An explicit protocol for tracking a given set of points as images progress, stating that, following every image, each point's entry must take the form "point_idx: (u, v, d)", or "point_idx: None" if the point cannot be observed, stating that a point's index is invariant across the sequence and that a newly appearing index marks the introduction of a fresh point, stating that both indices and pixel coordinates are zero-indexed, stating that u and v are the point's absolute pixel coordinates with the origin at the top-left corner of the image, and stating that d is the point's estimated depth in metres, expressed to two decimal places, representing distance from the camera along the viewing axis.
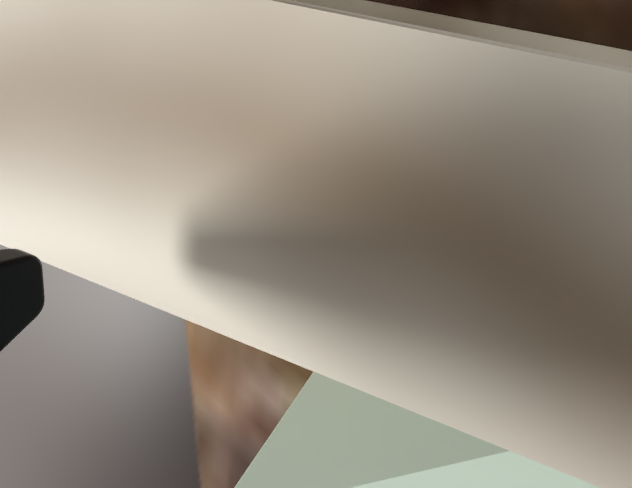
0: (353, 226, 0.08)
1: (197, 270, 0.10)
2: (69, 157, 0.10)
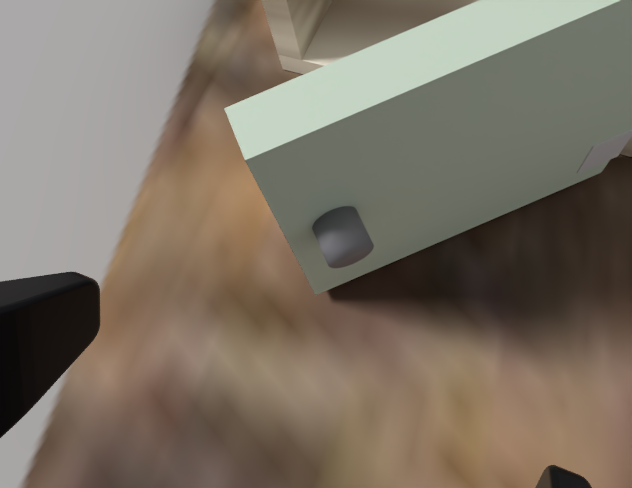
0: None
1: None
2: None
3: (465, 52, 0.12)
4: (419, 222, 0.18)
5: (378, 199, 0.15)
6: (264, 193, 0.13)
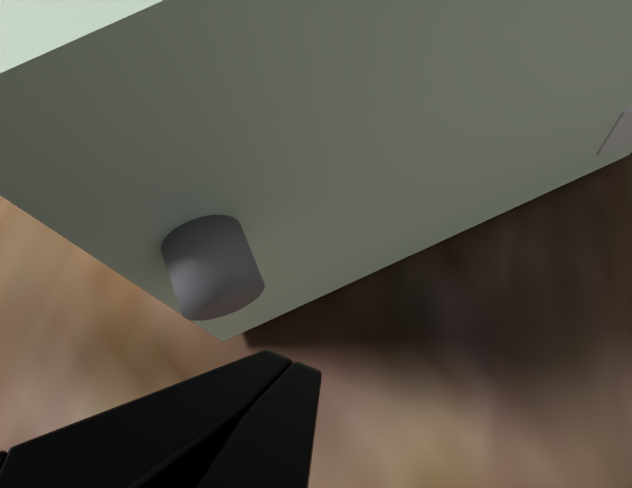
0: None
1: None
2: None
3: None
4: (361, 234, 0.12)
5: (273, 202, 0.09)
6: (7, 196, 0.06)
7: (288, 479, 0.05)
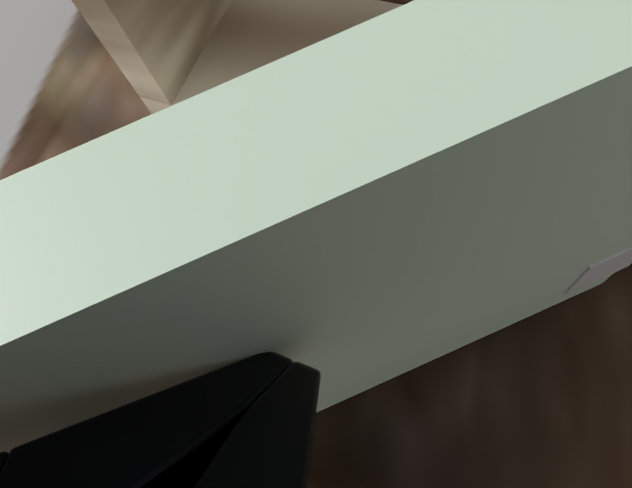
0: None
1: None
2: None
3: (249, 196, 0.04)
4: None
5: None
6: None
7: (287, 479, 0.05)
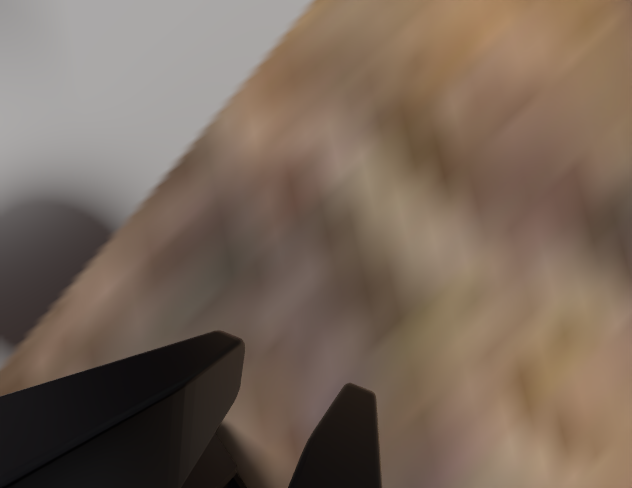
0: None
1: None
2: None
3: None
4: None
5: None
6: None
7: None
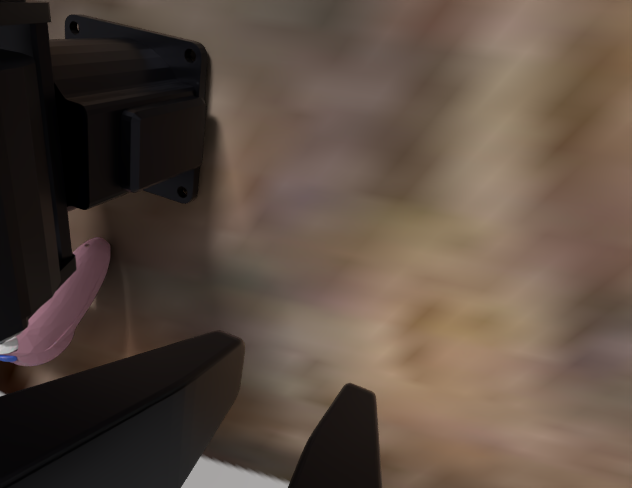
0: None
1: None
2: None
3: None
4: None
5: None
6: None
7: None
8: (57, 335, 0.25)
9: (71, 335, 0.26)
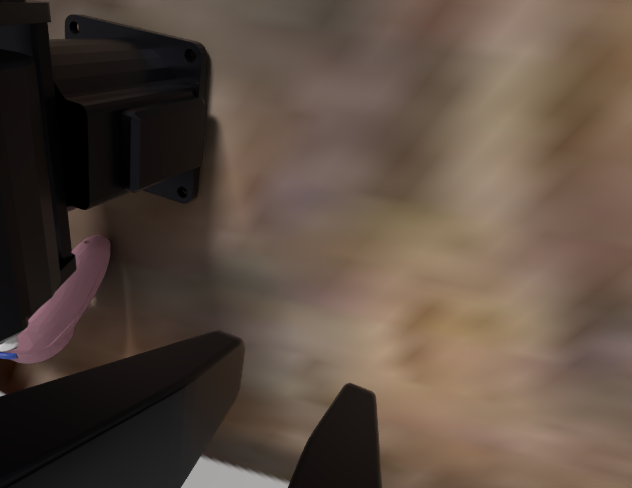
0: None
1: None
2: None
3: None
4: None
5: None
6: None
7: None
8: (57, 332, 0.24)
9: (71, 332, 0.26)
